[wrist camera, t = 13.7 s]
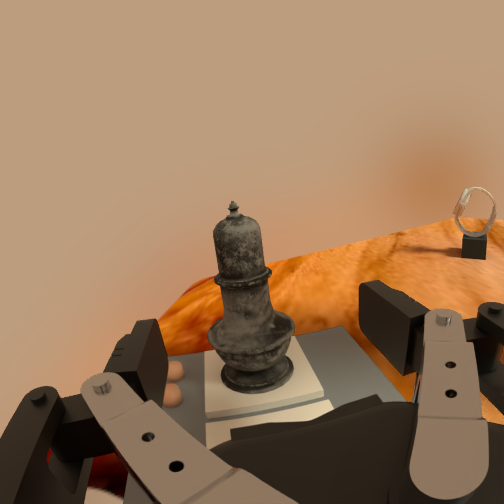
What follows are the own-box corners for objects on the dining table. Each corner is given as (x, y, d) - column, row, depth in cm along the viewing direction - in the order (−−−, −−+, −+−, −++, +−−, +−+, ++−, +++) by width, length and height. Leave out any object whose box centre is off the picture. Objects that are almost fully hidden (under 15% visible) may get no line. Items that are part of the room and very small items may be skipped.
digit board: (341, 336, 27) (341, 315, 27) (455, 480, 10) (469, 458, 9) (157, 369, 26) (150, 348, 25) (127, 553, 8) (107, 538, 8)
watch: (453, 247, 47) (453, 185, 44) (494, 251, 41) (495, 186, 38) (450, 256, 43) (450, 187, 40) (495, 260, 37) (497, 189, 34)
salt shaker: (207, 363, 23) (175, 207, 20) (275, 341, 25) (257, 193, 22) (233, 408, 18) (195, 212, 15) (314, 376, 20) (301, 194, 17)
